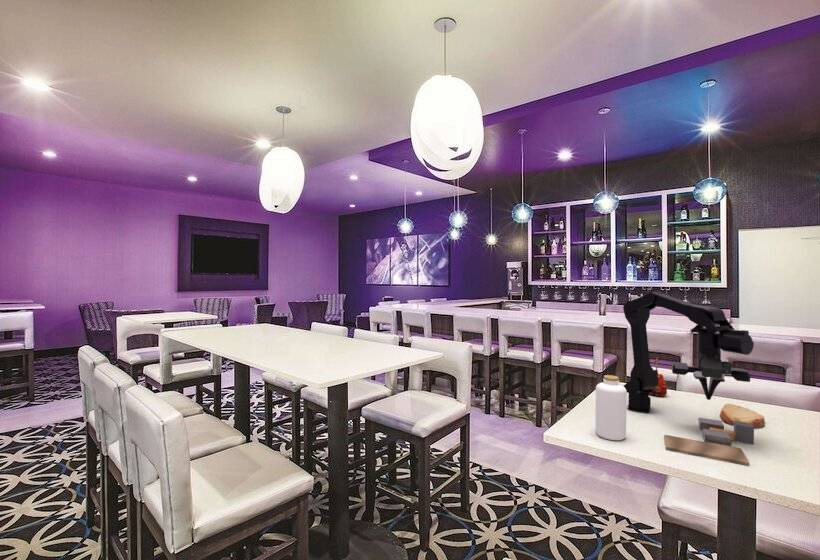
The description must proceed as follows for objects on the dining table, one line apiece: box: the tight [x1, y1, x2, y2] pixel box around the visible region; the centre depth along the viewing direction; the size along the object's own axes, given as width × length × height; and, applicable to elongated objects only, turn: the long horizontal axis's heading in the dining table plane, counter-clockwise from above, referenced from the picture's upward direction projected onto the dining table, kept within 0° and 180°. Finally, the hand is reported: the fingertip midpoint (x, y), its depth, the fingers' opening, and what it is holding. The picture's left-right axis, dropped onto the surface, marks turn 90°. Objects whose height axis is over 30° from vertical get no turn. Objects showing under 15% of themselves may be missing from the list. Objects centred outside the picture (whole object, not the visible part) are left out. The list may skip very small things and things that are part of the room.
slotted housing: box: [697, 417, 732, 447], centre depth 120 cm, size 6×16×2 cm, turn 149°
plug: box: [709, 421, 755, 445], centre depth 118 cm, size 10×4×5 cm, turn 59°
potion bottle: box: [594, 374, 628, 441], centre depth 119 cm, size 8×8×18 cm
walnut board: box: [663, 434, 750, 467], centre depth 110 cm, size 18×10×1 cm, turn 59°
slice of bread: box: [719, 403, 766, 429], centre depth 135 cm, size 18×18×4 cm
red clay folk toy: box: [649, 357, 668, 398], centre depth 161 cm, size 8×7×15 cm
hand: (708, 399), depth 121 cm, fingers closed
